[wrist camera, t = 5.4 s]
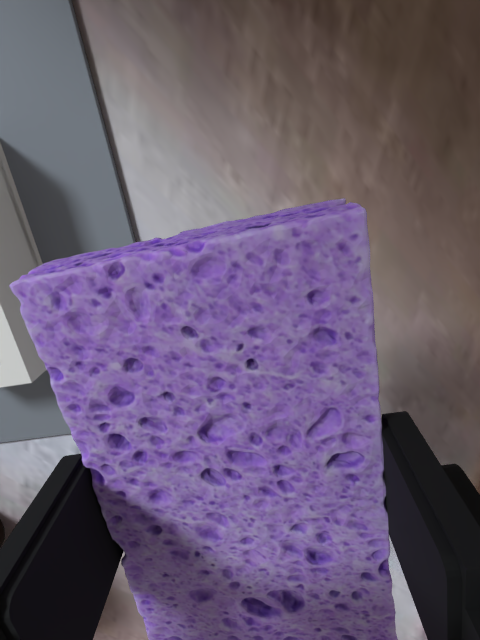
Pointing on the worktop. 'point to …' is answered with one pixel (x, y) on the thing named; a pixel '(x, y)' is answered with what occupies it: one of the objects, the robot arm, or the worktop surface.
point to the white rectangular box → (6, 267)
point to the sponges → (230, 421)
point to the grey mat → (54, 167)
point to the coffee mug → (1, 533)
